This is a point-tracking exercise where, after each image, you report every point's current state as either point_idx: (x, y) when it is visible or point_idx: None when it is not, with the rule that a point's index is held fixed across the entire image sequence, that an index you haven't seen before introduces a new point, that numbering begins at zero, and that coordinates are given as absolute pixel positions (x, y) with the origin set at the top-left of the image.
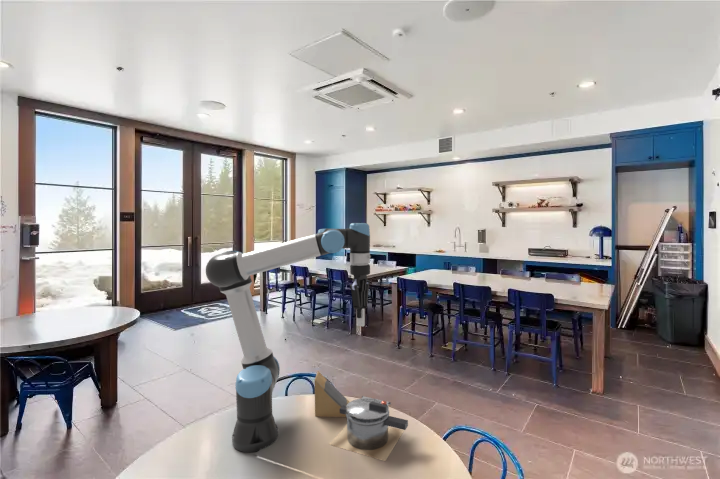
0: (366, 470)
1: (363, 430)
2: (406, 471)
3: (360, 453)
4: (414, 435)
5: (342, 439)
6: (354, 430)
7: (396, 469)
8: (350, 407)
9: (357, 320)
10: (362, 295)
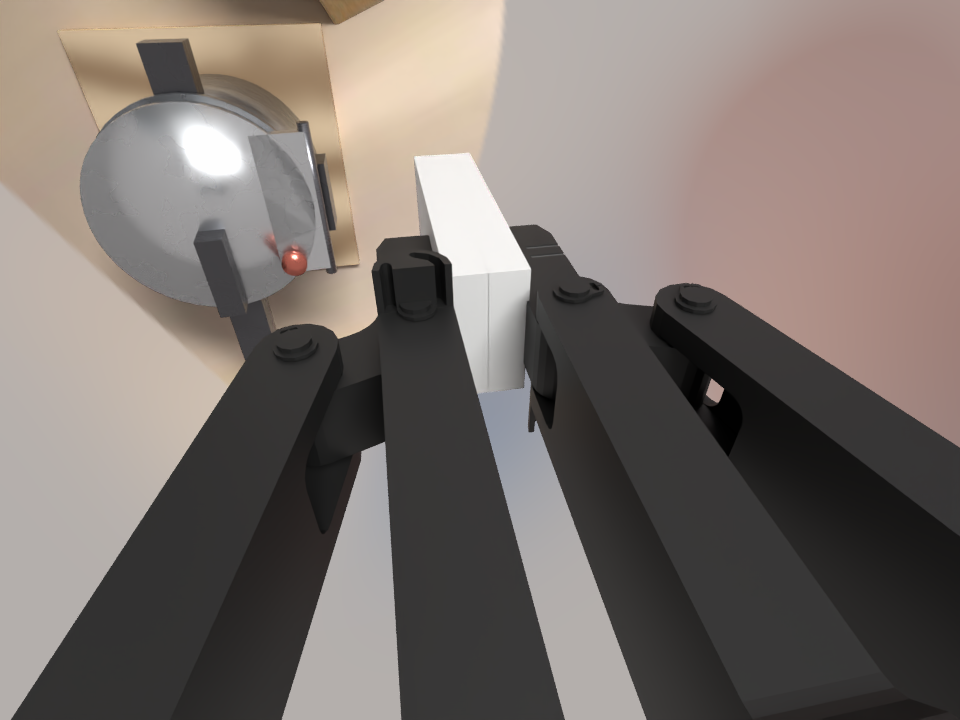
0: (83, 245)
1: None
2: (182, 340)
3: None
4: (361, 295)
5: (138, 73)
6: None
7: (167, 315)
8: (129, 144)
9: (421, 201)
10: (622, 610)
